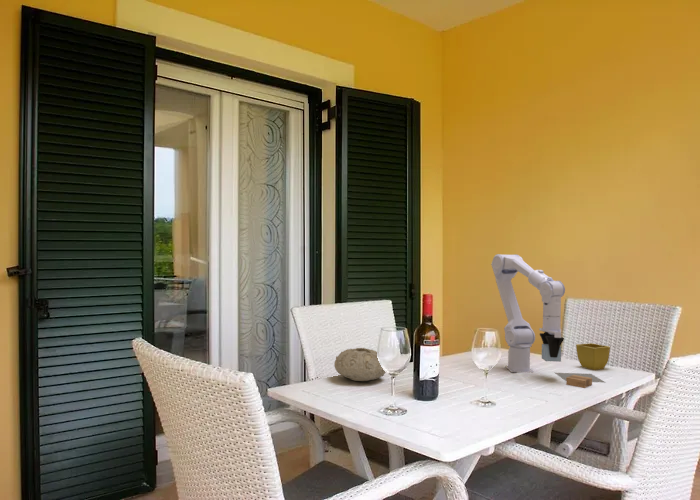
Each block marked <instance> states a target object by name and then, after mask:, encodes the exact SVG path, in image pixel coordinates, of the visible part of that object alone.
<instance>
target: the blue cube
mask: <svg viewBox="0 0 700 500" xmlns="http://www.w3.org/2000/svg"><path fill="white" fill-rule="evenodd" d="M541 359H543V360H544V361H545V362H556V363H557V362H562V345H561V346H560V349H559V352H558V356H557V357H550V353H549V345H548V344H543V343H541Z"/></svg>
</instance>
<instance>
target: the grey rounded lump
mask: <svg viewBox="0 0 700 500" xmlns="http://www.w3.org/2000/svg"><path fill="white" fill-rule="evenodd" d="M377 352H378V351H376V350H374V349H369V348H365V347H356V348H348V349H345V350H343V351H341V352H340V353H339V354H338V355H337V356H336V357H335V359H334V360H335V361H334V364H333V365H334V367H333V368H334V369H335V371H336V372H337V373H338V374H339V375H340V376H341V377H344V378H348V379H349V380H352V381H355V382H367V381H373V380H378V379H379V378H382V377H383V376H385V374H386V373H387V371H386V372H385V371H384V370H383V368H382V367H381V365H380V363H379V361H378V358H377Z"/></svg>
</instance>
